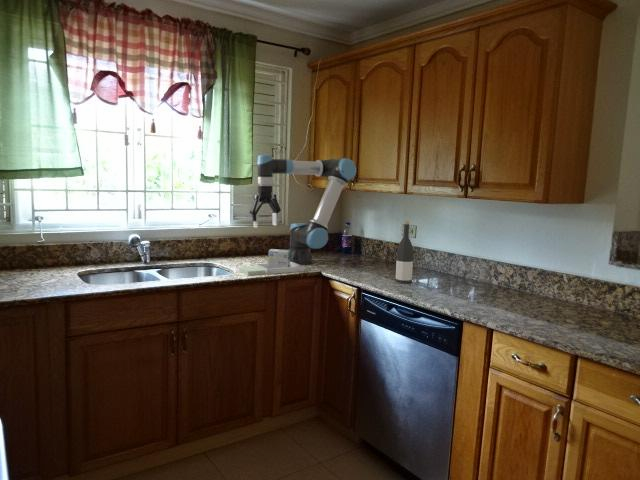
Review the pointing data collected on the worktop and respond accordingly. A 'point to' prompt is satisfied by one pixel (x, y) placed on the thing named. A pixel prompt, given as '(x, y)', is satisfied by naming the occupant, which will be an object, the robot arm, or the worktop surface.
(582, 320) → the worktop surface
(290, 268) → the tray
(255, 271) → the board
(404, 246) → the wine bottle
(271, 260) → the light bulb box
